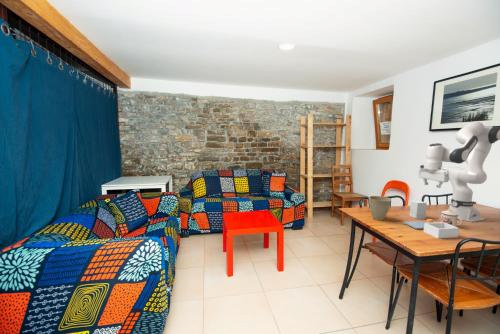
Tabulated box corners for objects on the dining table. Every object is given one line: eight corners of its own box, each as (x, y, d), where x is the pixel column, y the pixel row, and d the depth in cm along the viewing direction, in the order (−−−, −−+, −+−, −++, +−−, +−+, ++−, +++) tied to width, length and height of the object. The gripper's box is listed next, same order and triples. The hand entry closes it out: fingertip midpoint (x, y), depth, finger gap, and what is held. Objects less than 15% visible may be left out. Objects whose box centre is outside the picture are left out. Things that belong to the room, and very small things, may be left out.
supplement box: (425, 219, 173) (427, 202, 171) (415, 218, 173) (417, 202, 171) (418, 215, 180) (419, 200, 179) (409, 215, 180) (410, 200, 179)
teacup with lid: (436, 224, 162) (438, 208, 161) (443, 222, 166) (445, 206, 165) (457, 230, 151) (460, 213, 150) (464, 228, 155) (466, 211, 154)
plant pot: (364, 214, 181) (366, 195, 179) (385, 216, 178) (386, 196, 176) (370, 221, 166) (372, 200, 165) (392, 223, 163) (394, 201, 162)
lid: (424, 223, 164) (425, 217, 164) (438, 229, 154) (439, 222, 153) (403, 224, 162) (404, 217, 162) (416, 230, 152) (416, 223, 151)
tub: (442, 230, 150) (443, 222, 149) (458, 237, 140) (459, 228, 139) (423, 231, 148) (424, 222, 148) (438, 238, 138) (439, 228, 138)
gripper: (452, 168, 149) (450, 189, 151) (424, 165, 169) (423, 183, 171) (444, 169, 148) (442, 189, 150) (417, 165, 168) (416, 183, 170)
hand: (432, 186), depth 160 cm, fingers open, 8 cm apart
